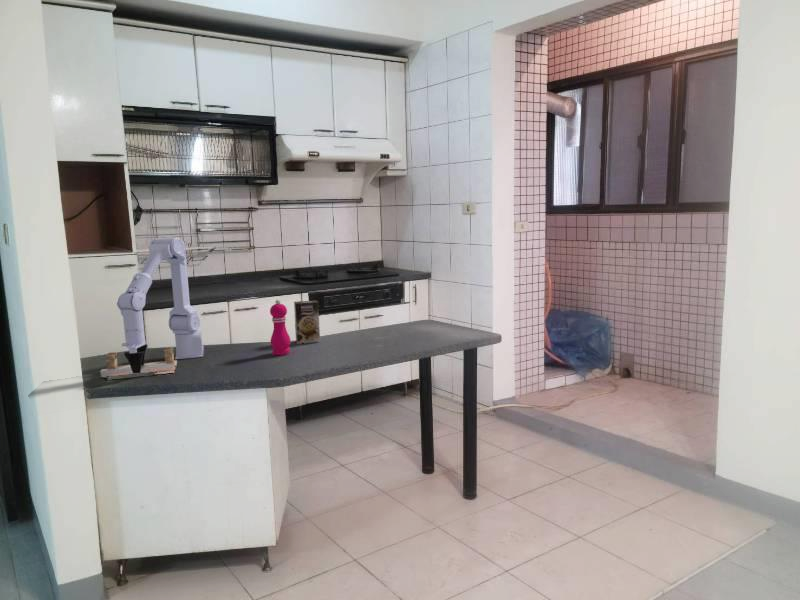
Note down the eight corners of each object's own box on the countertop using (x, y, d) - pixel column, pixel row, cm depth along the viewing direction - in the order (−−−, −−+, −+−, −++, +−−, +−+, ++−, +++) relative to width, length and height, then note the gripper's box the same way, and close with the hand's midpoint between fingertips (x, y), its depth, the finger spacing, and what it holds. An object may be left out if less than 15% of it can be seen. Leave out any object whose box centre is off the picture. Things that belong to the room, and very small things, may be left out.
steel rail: (174, 368, 196) (174, 362, 196) (174, 370, 194) (173, 363, 194) (102, 375, 190) (101, 369, 190) (101, 377, 188) (100, 371, 188)
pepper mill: (267, 355, 213) (263, 300, 210) (279, 350, 219) (276, 297, 216) (282, 356, 209) (279, 301, 206) (295, 352, 216) (292, 298, 213)
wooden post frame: (176, 362, 206) (175, 346, 205) (175, 367, 200) (174, 350, 199) (108, 369, 200) (106, 352, 199) (104, 374, 194) (102, 356, 193)
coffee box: (297, 344, 228) (294, 303, 226) (295, 341, 235) (293, 301, 232) (320, 342, 231) (318, 301, 228) (318, 339, 237) (316, 299, 234)
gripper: (124, 326, 196) (128, 365, 198) (116, 334, 182) (121, 377, 184) (146, 324, 198) (150, 363, 200) (141, 332, 184) (145, 374, 186)
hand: (138, 370), depth 192 cm, fingers open, 7 cm apart
